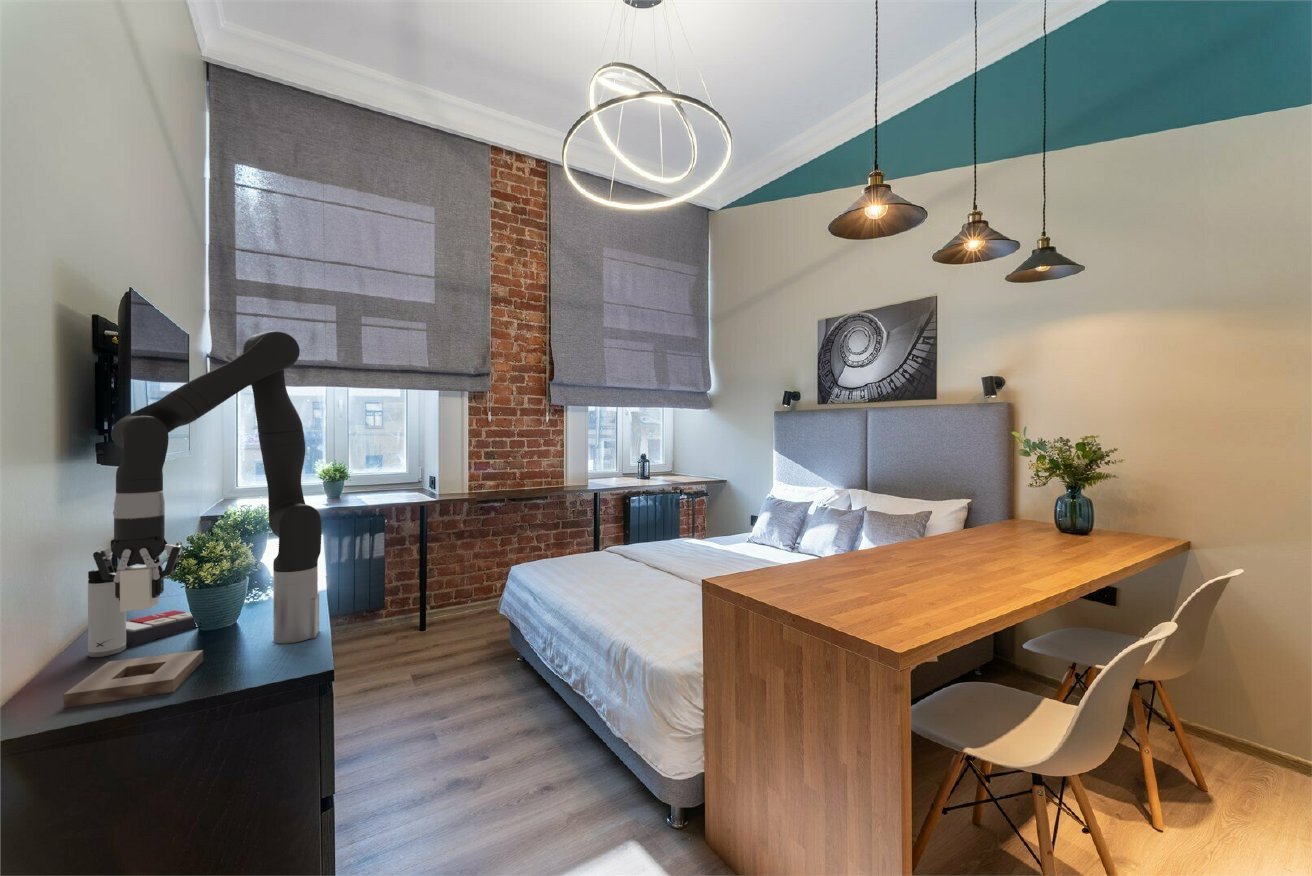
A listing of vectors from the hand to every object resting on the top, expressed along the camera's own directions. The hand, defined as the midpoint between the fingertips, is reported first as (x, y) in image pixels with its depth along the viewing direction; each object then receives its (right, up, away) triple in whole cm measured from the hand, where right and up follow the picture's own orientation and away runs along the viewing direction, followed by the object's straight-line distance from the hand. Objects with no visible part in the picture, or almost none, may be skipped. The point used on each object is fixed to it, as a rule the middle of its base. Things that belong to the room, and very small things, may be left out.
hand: (139, 597), depth 112 cm
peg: (0, -2, 0) cm, 2 cm away
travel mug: (-22, -17, +16) cm, 32 cm away
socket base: (0, -17, 0) cm, 17 cm away
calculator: (-22, -18, +28) cm, 40 cm away
